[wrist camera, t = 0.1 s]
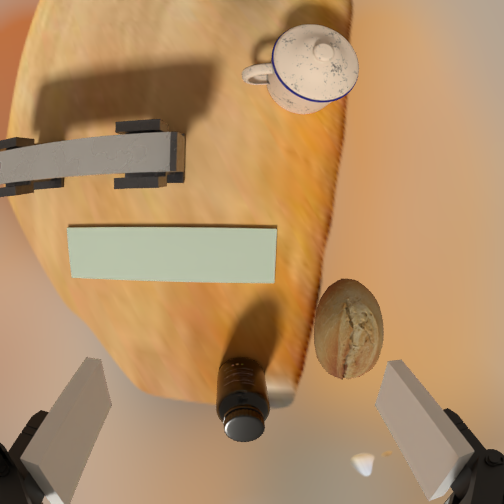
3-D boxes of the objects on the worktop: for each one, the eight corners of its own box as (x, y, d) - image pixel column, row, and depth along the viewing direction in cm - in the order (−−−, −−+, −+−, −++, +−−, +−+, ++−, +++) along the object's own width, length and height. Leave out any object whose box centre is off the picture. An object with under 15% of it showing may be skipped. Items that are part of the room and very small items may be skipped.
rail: (-4, 157, 28) (-27, 157, 24) (185, 137, 30) (177, 131, 26) (-4, 184, 29) (-27, 187, 25) (184, 171, 31) (176, 171, 26)
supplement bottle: (267, 387, 46) (276, 443, 34) (223, 394, 45) (222, 451, 34) (260, 351, 44) (269, 405, 32) (213, 358, 44) (208, 414, 32)
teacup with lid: (327, 50, 35) (359, 13, 23) (340, 114, 37) (378, 94, 26) (236, 56, 34) (237, 15, 23) (246, 122, 37) (251, 101, 25)
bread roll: (313, 373, 46) (326, 406, 38) (300, 283, 42) (315, 307, 34) (372, 357, 46) (392, 385, 38) (367, 268, 42) (393, 287, 34)
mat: (68, 227, 38) (66, 227, 38) (276, 228, 40) (276, 229, 39) (72, 276, 40) (71, 277, 39) (273, 282, 41) (274, 283, 41)
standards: (31, 146, 35) (-14, 143, 25) (185, 132, 36) (168, 118, 26) (31, 191, 36) (-14, 198, 27) (183, 184, 38) (166, 187, 28)
